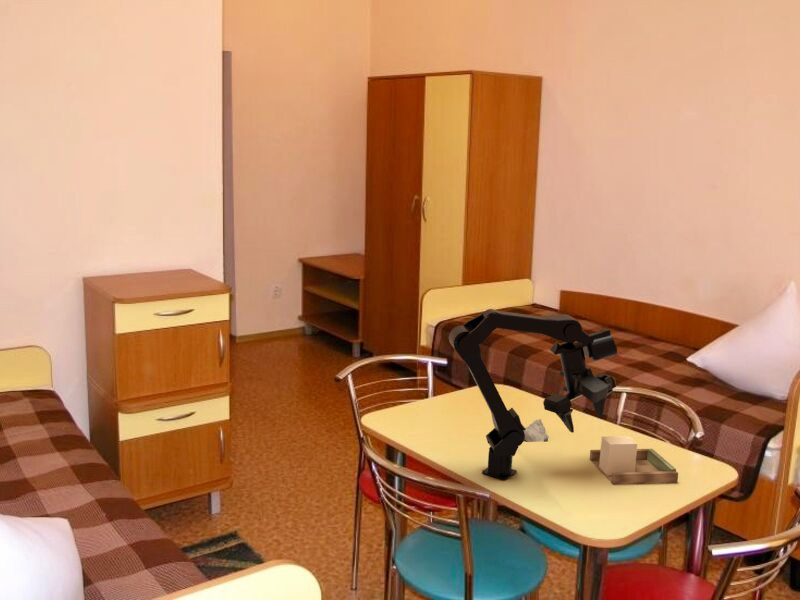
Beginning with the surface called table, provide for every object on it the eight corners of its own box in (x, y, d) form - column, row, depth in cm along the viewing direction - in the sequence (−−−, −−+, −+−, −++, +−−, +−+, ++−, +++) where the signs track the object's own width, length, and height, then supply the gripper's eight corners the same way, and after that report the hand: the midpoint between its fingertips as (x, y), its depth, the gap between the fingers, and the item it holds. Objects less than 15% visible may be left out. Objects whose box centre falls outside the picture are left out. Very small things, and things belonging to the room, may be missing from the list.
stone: (557, 435, 219) (558, 421, 219) (540, 447, 209) (541, 432, 208) (536, 430, 223) (537, 416, 222) (518, 442, 213) (519, 427, 212)
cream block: (606, 475, 189) (609, 444, 187) (599, 467, 193) (601, 436, 192) (634, 474, 190) (637, 443, 188) (625, 466, 194) (628, 436, 193)
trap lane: (612, 490, 184) (614, 472, 183) (589, 464, 199) (590, 448, 198) (676, 488, 186) (678, 471, 185) (648, 463, 201) (650, 446, 200)
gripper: (566, 386, 177) (579, 448, 181) (626, 358, 185) (637, 418, 188) (536, 377, 187) (548, 436, 190) (594, 351, 195) (605, 408, 198)
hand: (586, 425), depth 192 cm, fingers open, 9 cm apart
